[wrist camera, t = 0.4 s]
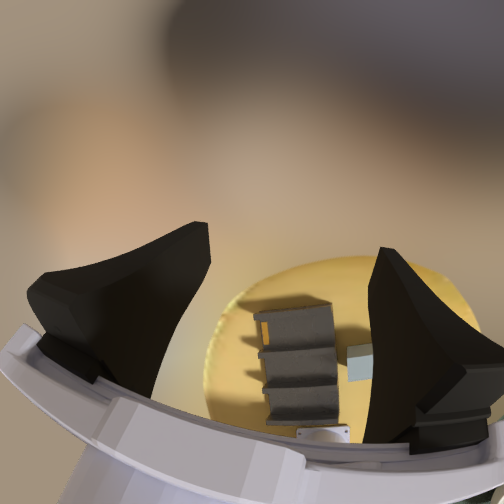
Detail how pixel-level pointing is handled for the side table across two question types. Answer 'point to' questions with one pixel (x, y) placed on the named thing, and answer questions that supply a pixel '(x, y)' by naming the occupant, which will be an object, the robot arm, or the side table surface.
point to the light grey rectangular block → (360, 362)
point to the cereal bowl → (498, 495)
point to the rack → (300, 365)
